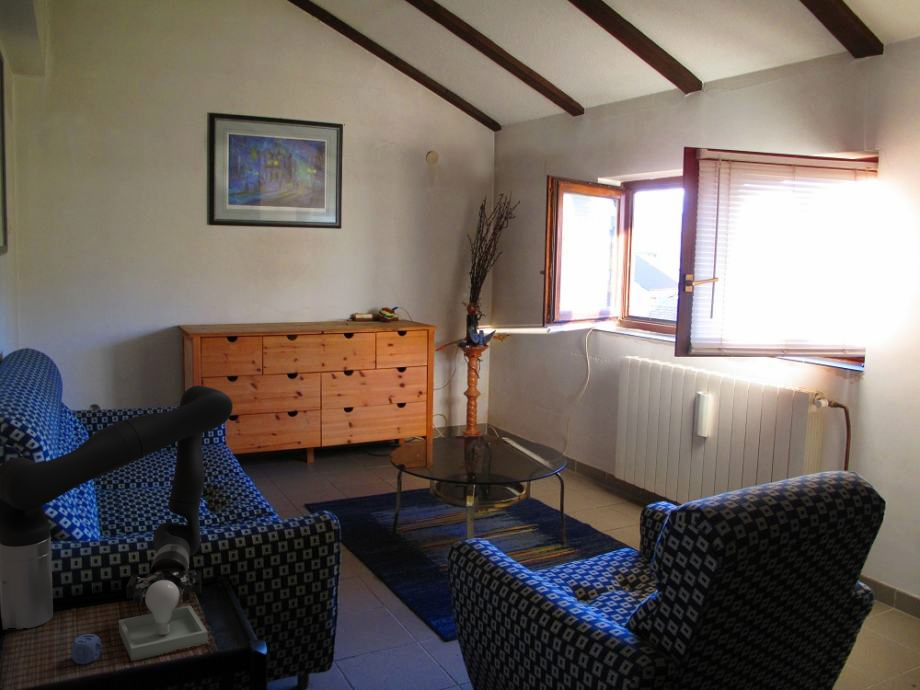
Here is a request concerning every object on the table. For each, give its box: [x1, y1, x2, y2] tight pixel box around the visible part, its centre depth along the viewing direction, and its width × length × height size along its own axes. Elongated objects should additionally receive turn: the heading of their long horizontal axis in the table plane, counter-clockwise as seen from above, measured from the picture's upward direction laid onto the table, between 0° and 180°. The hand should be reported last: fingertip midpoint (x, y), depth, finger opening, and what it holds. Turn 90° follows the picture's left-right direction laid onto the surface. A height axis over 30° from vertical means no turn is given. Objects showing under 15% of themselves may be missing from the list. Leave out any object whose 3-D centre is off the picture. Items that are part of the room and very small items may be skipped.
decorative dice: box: [70, 633, 102, 665], centre depth 154 cm, size 4×4×4 cm
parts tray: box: [118, 605, 209, 662], centre depth 162 cm, size 14×13×2 cm
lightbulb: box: [144, 580, 181, 635], centre depth 162 cm, size 6×6×11 cm
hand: (161, 599), depth 161 cm, fingers open, 8 cm apart
